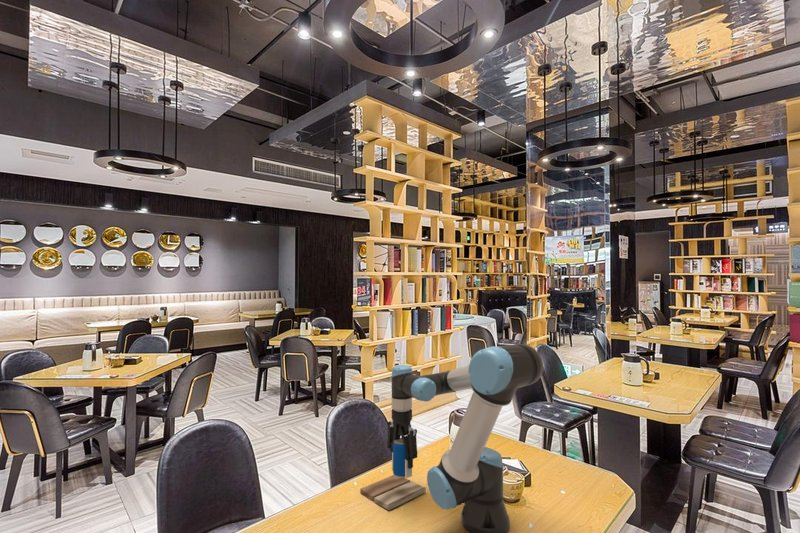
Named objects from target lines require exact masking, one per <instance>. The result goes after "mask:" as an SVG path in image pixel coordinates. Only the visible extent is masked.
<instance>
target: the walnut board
mask: <svg viewBox="0 0 800 533" xmlns="http://www.w3.org/2000/svg"><path fill="white" fill-rule="evenodd" d="M410 481H411V479H408V478H399V477H397V476H395V475H394V474H391V475H390V476H387V477H386V478H385V477H384V478H383V479H380V480H379V481H375V482H372V483H371V484H368V485H366V486H364V487H362V488H360V490H359V492H360V494H361V495H363V496H364V497H365V498H367V499H368V500H370V501H371V502H374V498H375V497H377V496H379V495H381V494H384V493H386V492H388V491H390V490H393V489H395V488H397V487H399V486H401V485H404V484H406V483H408V482H410ZM374 503H375V502H374Z"/></svg>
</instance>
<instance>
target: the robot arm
mask: <svg viewBox="0 0 800 533" xmlns="http://www.w3.org/2000/svg"><path fill="white" fill-rule="evenodd" d="M543 372H544V362H543V358H542V356H541V355H540V353H539V351H538V350H536V349H535V348H534V347H533V346H530V345H528V344H525V343H514V344H507V345H501V346H497V345H496V346H489V347H486V348H483V349H480V350H478V351H477V352H475V353H474V354H473V356H472V357H471V359H470V362H469V363H468V365H465V366H462V367H458V368H454V369H451V370H447V371H442V372H436V373H430V374H424V375H417V374H414V373H413V369H412V366H411V365H408V364H397V365H394V366H392V369H391V377H390V378H391V408H392V409H391V420H390V421H387V442H386V443H387V444H386V447H387V449H389V450H390V453H391V454H390V455H391V456H390V457H391V471H392V472H393V443H394V440H397V439H400V438H402V439H403V442H404V446H405V452H406V457H407V458H406V459H405V478H406V479H408V478H409V479H410V477H413V467H414V459H417V458H418V444H417V443H418V442H417V441H418V440H417V433H418V430H417V429H416V428H413V427H412V424H411V421H412V420H413V409H412V408H413V398H414V399H415V400H417V401H421V402H430V401H432V399H434V397H437V396H441V395H445V394H452V393H457V392H460V391H464V390H465V391H466V390H470V389H472V392H473V393H472V395H471V397H470V400H469V402H468V405H467V407H466V410H465V412H464V414H463V418H462V420H461V422H460V425H459V427H458V430H457V432H456V435H455V437H454V439H453V443H452V445H451V448H450V449H448V450H447V449H446V451H445V452H443V454H442V456H441V457H440V462H439V463H438V465H436V466H432V467H431V468H429V470H428V471H427V474H426V482H427V487H428V490H429V493H430V496H431V498H432V500H433V501H434V503H435V504H436V505H437V506H438V507H439V508H441V509H443V510H450V509H455V508H456V507H458V506H460V505H462V504H463V508H462V511H461V524H462V527H463V528H464V529H465V530H466V531H467V532H469V533H508V532H509V530H510V517H509V514H508V513H507V512H508V511H507V508H506V505H505V502H504V501H505V500H504V465H503V457H502V454H501V453H500V452H499V451H497V450H496V449H493V448H490V447H487V446H486V445H487V444H488V441H489V438H490V436H491V434H492V431H493V429H494V427H495V425H496V422H497V420H498V417H499V415H500V412H501V410H502V409H503V407H505V406H509V405H510V404H511V403H512V400H513V398H514V396H515V394H516V392H517V390H518V389H521V388H524V387H528V386H530V385H531V386H532V385H533V384H535V383H537V381H538V380H539V379H540V378H541V376H542V374H543Z"/></svg>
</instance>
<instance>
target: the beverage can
mask: <svg viewBox="0 0 800 533" xmlns="http://www.w3.org/2000/svg"><path fill="white" fill-rule="evenodd" d="M406 458H407V457H406V452H405V446H404V442H403V439H402V438H401V437H400V439H397V440H394V443H393V471H392V473H393V474H392V475H395V476H397V477H399V478H405V459H406Z"/></svg>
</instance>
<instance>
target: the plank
mask: <svg viewBox="0 0 800 533" xmlns="http://www.w3.org/2000/svg"><path fill="white" fill-rule="evenodd" d="M425 493H427V487H425V486H423V485H421V484H418V483H416V482H414V481H411V480H410V482H408V483H406V484H404V485H401V486H399V487H397V488H395V489H393V490H390V491H388V492H386V493H384V494H381V495H379V496H377V497H375V498H374V503H375V504H377V505H378V506H380V507H382V508H384V509H386V510H387V511H390V510H393V509H395V508H397V507H399V506H401V505H403V504H405V503H407V502H409V501H411V500H413V499H415V498H417V497H419V496H421V495H423V494H425Z"/></svg>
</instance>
